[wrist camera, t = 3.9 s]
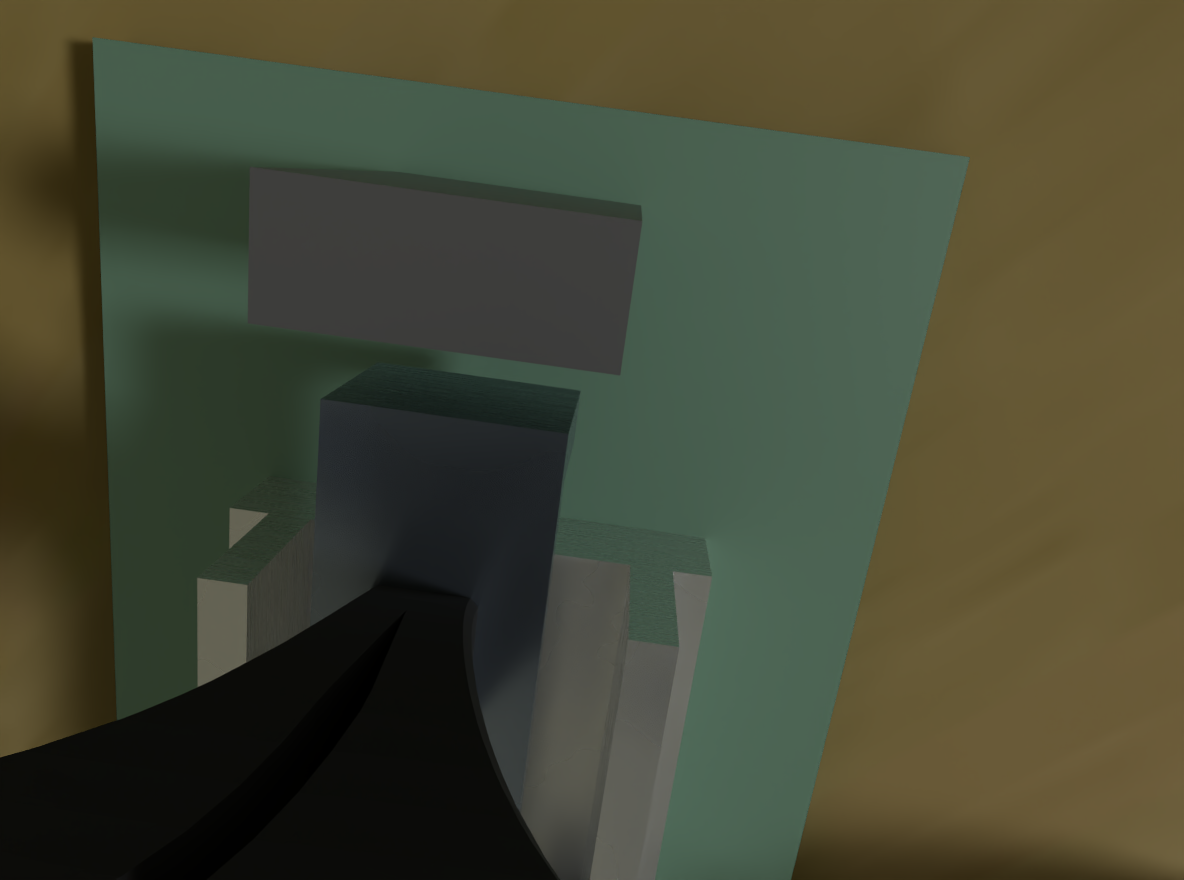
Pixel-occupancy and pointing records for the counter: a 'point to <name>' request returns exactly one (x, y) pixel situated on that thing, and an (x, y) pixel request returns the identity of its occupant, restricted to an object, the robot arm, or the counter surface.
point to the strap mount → (443, 265)
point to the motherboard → (541, 374)
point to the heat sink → (566, 678)
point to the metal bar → (450, 516)
